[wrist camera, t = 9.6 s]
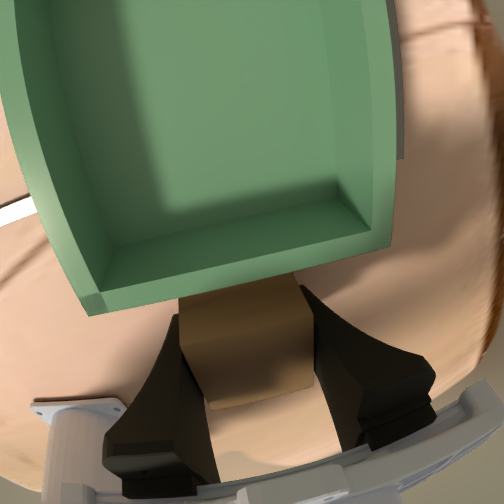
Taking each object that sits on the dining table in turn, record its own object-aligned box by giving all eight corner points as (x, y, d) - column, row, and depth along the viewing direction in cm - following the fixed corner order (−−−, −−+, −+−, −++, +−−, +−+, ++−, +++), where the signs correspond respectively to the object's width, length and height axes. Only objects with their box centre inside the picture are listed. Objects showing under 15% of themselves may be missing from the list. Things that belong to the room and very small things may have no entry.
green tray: (340, 198, 13) (390, 246, 10) (109, 250, 12) (88, 316, 9) (307, -72, 7) (355, -114, 3) (42, -23, 6) (-10, -50, 2)
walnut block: (286, 318, 16) (313, 386, 13) (202, 337, 16) (211, 410, 12) (278, 246, 14) (313, 314, 10) (178, 269, 14) (179, 346, 10)
